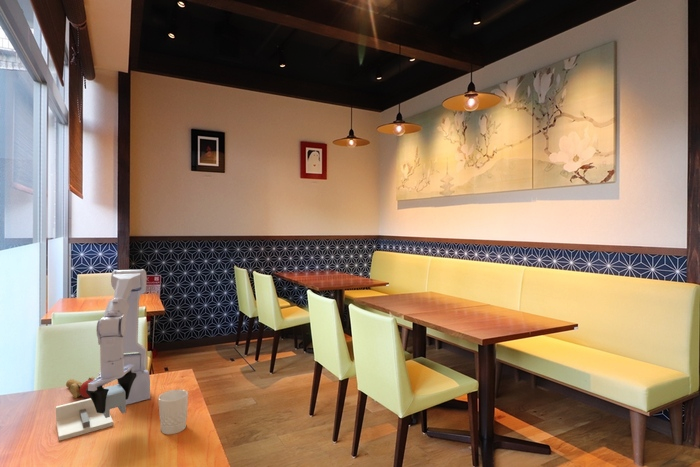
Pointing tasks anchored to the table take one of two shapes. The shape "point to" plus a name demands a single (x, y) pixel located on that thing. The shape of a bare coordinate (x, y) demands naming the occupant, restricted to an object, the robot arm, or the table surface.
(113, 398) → the block
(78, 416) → the board
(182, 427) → the white cup
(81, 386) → the kendama
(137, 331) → the robot arm
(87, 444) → the table surface
